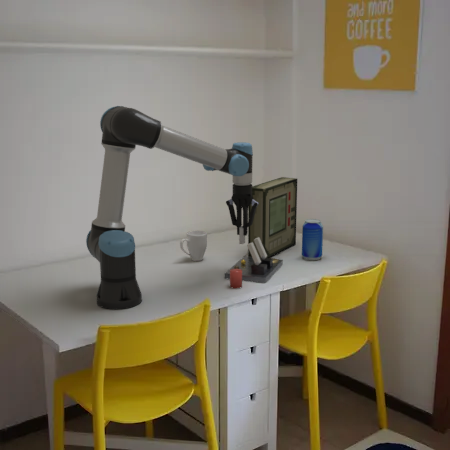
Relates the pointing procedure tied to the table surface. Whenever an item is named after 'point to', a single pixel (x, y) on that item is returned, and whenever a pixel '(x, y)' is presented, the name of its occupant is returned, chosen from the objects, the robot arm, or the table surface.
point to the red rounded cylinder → (236, 278)
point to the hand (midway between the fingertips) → (242, 243)
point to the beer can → (312, 239)
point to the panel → (254, 276)
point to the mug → (195, 244)
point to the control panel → (274, 215)
